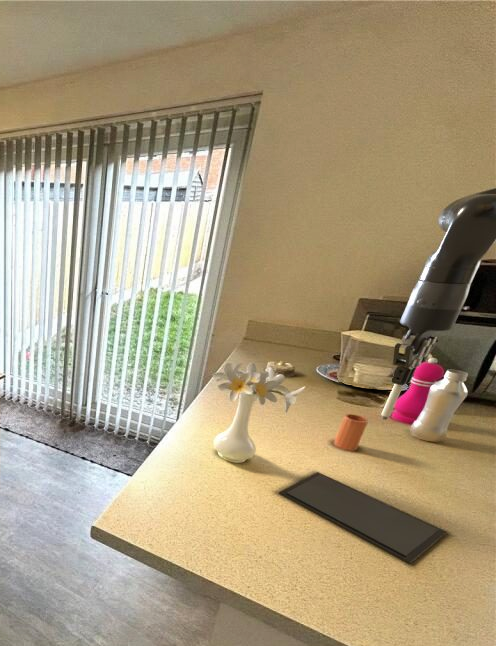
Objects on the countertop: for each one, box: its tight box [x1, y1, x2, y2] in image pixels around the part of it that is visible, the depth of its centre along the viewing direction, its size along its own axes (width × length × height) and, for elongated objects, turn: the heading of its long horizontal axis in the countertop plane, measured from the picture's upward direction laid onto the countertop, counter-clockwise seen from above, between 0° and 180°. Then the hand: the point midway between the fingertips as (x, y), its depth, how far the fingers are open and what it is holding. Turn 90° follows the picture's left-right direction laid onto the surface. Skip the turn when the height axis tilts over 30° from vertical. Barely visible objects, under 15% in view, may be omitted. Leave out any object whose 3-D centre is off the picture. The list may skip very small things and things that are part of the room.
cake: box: [264, 360, 296, 378], centre depth 153 cm, size 10×10×5 cm
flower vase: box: [211, 362, 307, 464], centre depth 97 cm, size 13×18×25 cm
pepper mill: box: [390, 357, 445, 425], centre depth 114 cm, size 7×7×20 cm
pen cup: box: [333, 413, 369, 452], centre depth 103 cm, size 5×5×9 cm
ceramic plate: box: [316, 363, 408, 392], centre depth 144 cm, size 26×26×3 cm
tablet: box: [278, 471, 448, 565], centre depth 82 cm, size 22×16×1 cm
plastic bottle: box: [409, 368, 469, 443], centre depth 104 cm, size 6×7×20 cm
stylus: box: [380, 361, 406, 421], centre depth 86 cm, size 1×1×14 cm
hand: (400, 382), depth 86 cm, fingers closed on stylus, 1 cm apart
